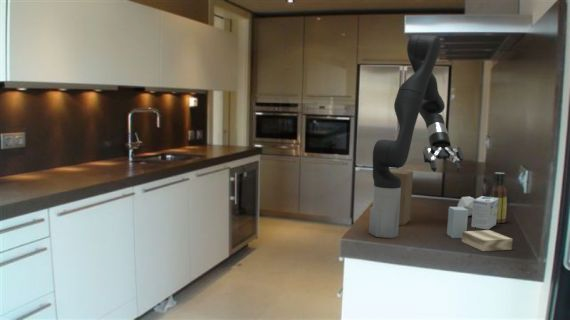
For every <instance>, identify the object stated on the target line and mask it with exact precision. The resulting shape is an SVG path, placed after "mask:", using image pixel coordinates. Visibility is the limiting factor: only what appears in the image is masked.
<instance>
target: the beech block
mask: <svg viewBox="0 0 570 320" xmlns="http://www.w3.org/2000/svg"><path fill="white" fill-rule="evenodd" d="M513 240H514V239H513V238H512V237H509V236H506V235H503V234H501V233H499V232H496V231H494V230H490V229H489V230H486V229H483V230H482V229H481V230H468V231H462V238H461V242H462V243H464V244H465V245H468V246H471V247H473V248H475V249H476V250H479V251H482V252H492V251H493V252H494V251H495V252H496V251H506V250H510V251H511V250H513Z"/></svg>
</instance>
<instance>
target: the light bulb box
mask: <svg viewBox="0 0 570 320" xmlns="http://www.w3.org/2000/svg"><path fill="white" fill-rule="evenodd" d="M474 199H475V200H473V211H472V216H471V224H470V225H471V226H470V227H471V228H475V227H476V228H477V229H481V230H482V229H483V230H490V229H492V228H493V227H495V226H496V225H497V223H496V219H497V208H498V198H493V197H490V196H484V195H481V196H479V197H476V198H474ZM476 228H475V229H476Z"/></svg>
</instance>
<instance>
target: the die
mask: <svg viewBox="0 0 570 320" xmlns="http://www.w3.org/2000/svg"><path fill="white" fill-rule="evenodd" d="M475 199H476V198H474V197H471V196H470V195H469V196H462V197H461V198H460V200H459V201H458V203H457V206H456V207H464V208H465V209H467V210H468V217H472V211H473V200H475Z"/></svg>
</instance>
